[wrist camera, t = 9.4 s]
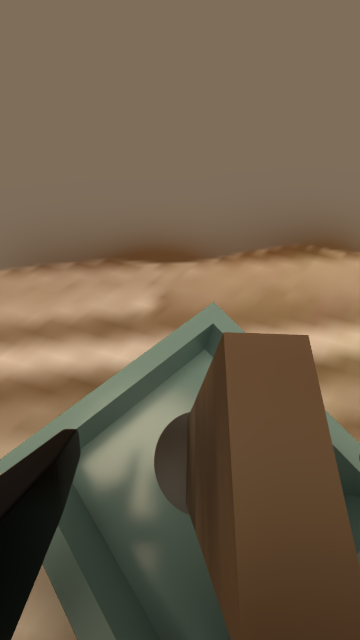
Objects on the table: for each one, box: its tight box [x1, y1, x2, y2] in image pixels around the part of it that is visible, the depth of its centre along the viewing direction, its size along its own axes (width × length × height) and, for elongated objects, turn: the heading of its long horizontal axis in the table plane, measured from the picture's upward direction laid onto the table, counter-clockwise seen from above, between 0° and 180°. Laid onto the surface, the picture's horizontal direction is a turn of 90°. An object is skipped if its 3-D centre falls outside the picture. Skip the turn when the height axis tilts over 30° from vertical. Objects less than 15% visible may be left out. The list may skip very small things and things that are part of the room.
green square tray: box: [0, 302, 360, 640], centre depth 13 cm, size 13×13×5 cm
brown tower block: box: [154, 332, 360, 640], centre depth 9 cm, size 5×5×13 cm
